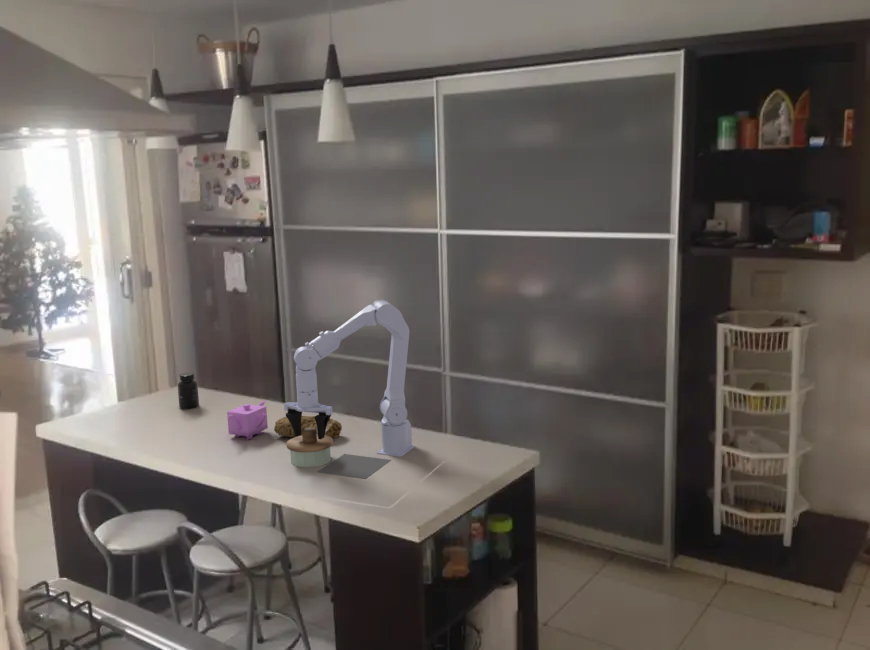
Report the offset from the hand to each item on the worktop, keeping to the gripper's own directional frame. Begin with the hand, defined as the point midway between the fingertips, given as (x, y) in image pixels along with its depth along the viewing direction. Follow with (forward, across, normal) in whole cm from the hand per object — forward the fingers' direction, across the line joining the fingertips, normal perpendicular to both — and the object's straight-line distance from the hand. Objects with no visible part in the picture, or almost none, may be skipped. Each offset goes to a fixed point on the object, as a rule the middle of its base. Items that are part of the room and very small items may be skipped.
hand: (309, 436), depth 227 cm
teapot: (+7, -31, +14) cm, 35 cm away
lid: (+2, 0, 0) cm, 2 cm away
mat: (+7, +14, 0) cm, 16 cm away
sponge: (+8, -13, +18) cm, 24 cm away
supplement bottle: (+7, -71, +33) cm, 79 cm away
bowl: (+7, 0, 0) cm, 7 cm away
